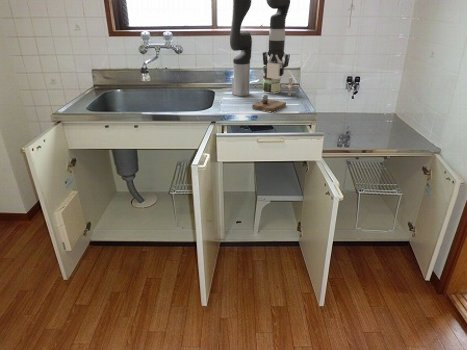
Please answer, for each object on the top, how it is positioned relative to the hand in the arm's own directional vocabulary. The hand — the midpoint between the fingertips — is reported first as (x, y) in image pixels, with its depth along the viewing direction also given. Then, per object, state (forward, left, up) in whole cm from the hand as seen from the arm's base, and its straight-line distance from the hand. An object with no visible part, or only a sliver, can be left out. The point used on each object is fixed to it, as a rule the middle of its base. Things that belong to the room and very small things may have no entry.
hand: (275, 74), depth 171 cm
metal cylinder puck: (-2, -5, -13) cm, 15 cm away
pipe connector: (-2, +22, -16) cm, 27 cm away
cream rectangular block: (0, 0, -1) cm, 1 cm away
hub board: (0, -4, -15) cm, 16 cm away
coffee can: (-15, +24, -16) cm, 32 cm away
